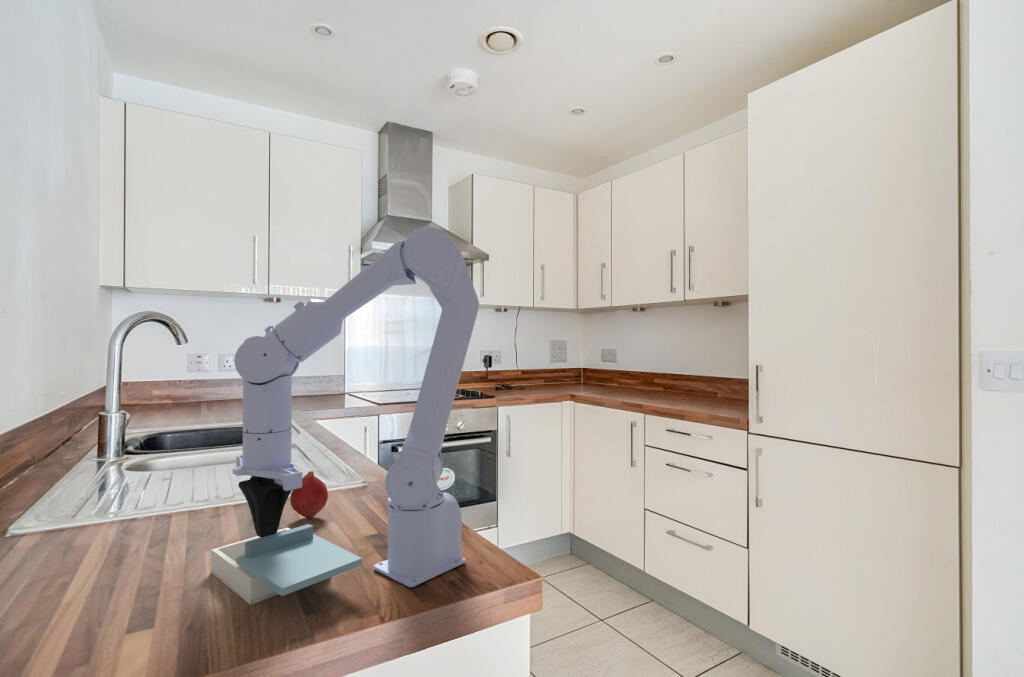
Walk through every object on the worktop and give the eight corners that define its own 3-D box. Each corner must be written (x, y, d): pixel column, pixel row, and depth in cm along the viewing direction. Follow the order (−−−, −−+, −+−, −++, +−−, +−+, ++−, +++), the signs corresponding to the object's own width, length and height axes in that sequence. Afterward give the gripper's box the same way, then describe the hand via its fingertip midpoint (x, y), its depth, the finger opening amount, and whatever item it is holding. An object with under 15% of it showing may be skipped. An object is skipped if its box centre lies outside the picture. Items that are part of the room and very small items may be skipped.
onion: (287, 526, 81) (287, 476, 81) (293, 514, 87) (293, 467, 87) (326, 523, 83) (326, 474, 83) (329, 511, 88) (329, 465, 88)
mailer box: (287, 548, 73) (287, 527, 73) (331, 573, 65) (331, 550, 65) (211, 572, 65) (211, 549, 65) (250, 604, 57) (250, 578, 57)
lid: (312, 539, 68) (312, 521, 68) (362, 565, 60) (362, 544, 60) (236, 563, 60) (236, 543, 60) (281, 596, 53) (281, 573, 53)
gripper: (212, 427, 67) (211, 529, 67) (261, 442, 58) (260, 560, 58) (266, 420, 73) (265, 515, 73) (318, 433, 63) (317, 541, 63)
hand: (266, 534), depth 66 cm, fingers closed
